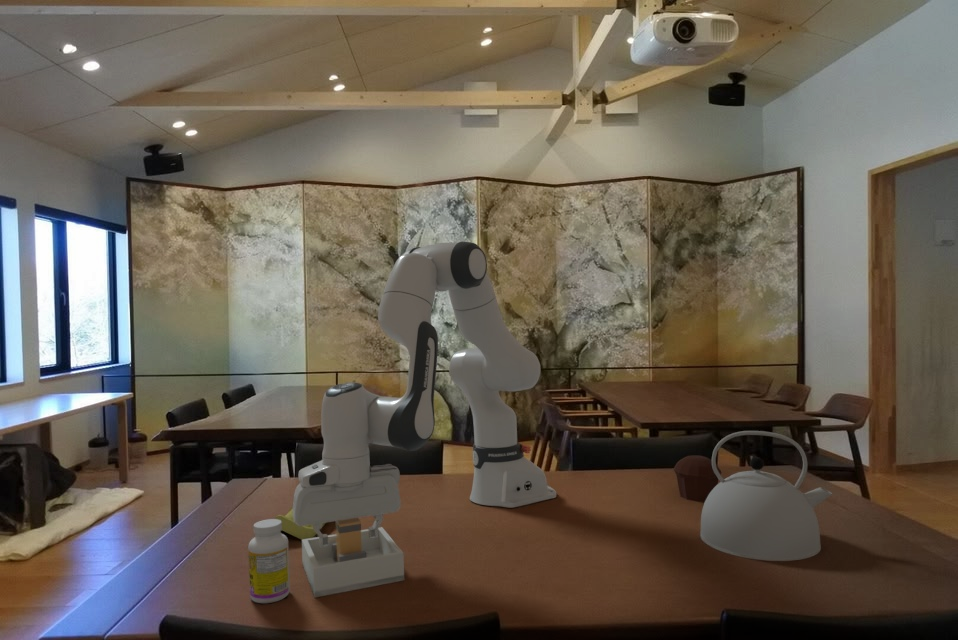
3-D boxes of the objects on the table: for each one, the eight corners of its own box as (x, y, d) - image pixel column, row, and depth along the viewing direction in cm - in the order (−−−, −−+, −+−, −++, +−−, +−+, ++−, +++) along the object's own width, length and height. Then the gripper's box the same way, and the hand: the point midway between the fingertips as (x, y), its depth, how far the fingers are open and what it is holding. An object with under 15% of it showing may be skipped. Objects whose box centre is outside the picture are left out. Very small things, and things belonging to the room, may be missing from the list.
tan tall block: (357, 556, 127) (356, 515, 127) (362, 563, 123) (360, 521, 123) (336, 560, 126) (335, 518, 125) (340, 567, 122) (339, 525, 122)
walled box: (382, 551, 133) (382, 526, 133) (404, 580, 118) (403, 553, 118) (302, 565, 127) (301, 539, 127) (314, 597, 112) (313, 568, 112)
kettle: (824, 528, 140) (821, 423, 139) (844, 568, 118) (841, 445, 118) (701, 518, 148) (698, 420, 148) (699, 554, 127) (696, 439, 126)
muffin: (731, 497, 163) (730, 457, 163) (703, 505, 157) (702, 464, 157) (692, 487, 173) (691, 449, 173) (664, 494, 167) (663, 456, 167)
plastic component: (313, 531, 140) (272, 511, 140) (301, 561, 141) (260, 541, 141) (343, 498, 159) (306, 480, 160) (331, 524, 160) (295, 506, 161)
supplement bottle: (255, 589, 116) (253, 517, 116) (293, 587, 117) (291, 515, 117) (245, 606, 110) (242, 530, 109) (285, 603, 110) (283, 528, 110)
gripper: (395, 459, 131) (397, 527, 131) (290, 472, 123) (292, 544, 123) (403, 466, 125) (405, 537, 125) (294, 479, 117) (296, 555, 118)
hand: (348, 541), depth 124 cm, fingers open, 8 cm apart
